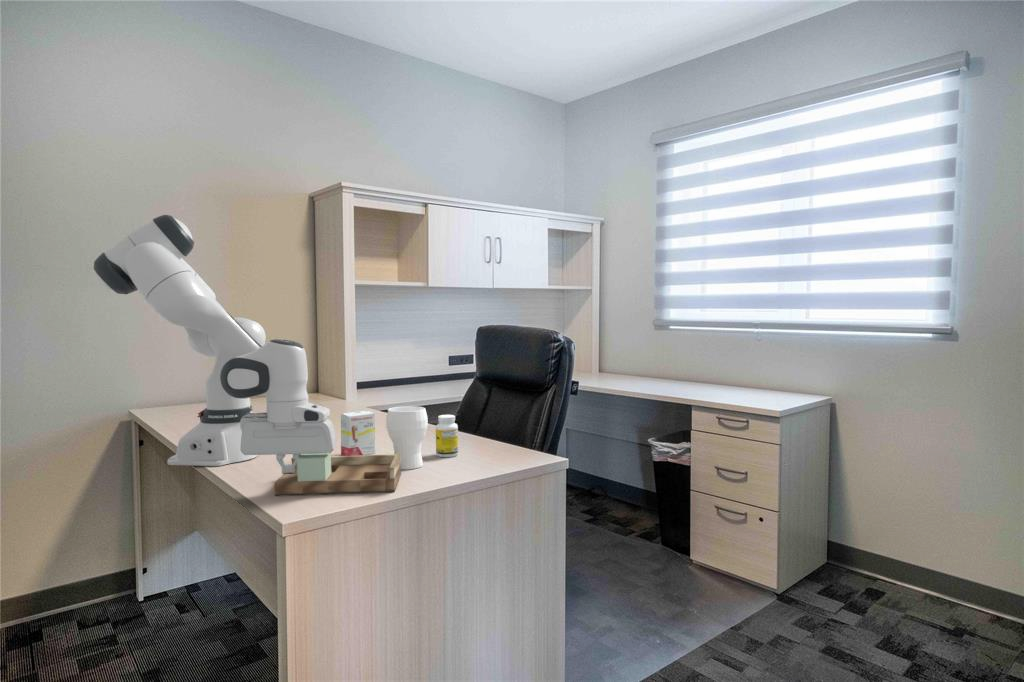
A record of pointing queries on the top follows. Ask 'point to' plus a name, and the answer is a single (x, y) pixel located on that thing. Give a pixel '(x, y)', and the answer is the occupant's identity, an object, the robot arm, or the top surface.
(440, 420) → the pill bottle
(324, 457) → the block
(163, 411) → the top surface
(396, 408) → the cup
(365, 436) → the ink box
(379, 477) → the wooden tray
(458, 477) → the top surface
